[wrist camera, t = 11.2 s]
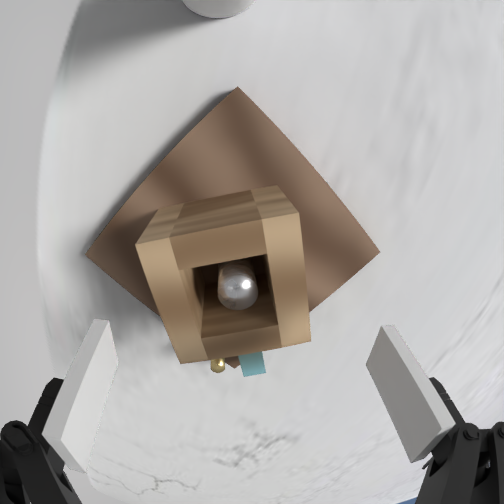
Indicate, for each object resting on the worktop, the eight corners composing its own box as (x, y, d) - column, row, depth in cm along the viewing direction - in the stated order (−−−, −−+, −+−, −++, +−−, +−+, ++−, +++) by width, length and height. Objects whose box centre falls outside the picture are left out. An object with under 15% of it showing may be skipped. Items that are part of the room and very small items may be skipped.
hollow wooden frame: (158, 208, 22) (135, 244, 16) (277, 185, 23) (299, 212, 16) (206, 360, 29) (205, 416, 23) (297, 344, 29) (314, 397, 23)
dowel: (217, 335, 28) (217, 361, 24) (226, 341, 28) (227, 367, 25) (208, 342, 28) (207, 368, 25) (217, 348, 28) (218, 374, 25)
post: (234, 232, 24) (238, 267, 18) (256, 253, 25) (266, 292, 19) (211, 253, 24) (209, 293, 19) (234, 273, 25) (237, 316, 20)
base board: (236, 88, 21) (237, 86, 19) (373, 245, 27) (380, 252, 26) (91, 247, 25) (84, 254, 23) (233, 358, 31) (234, 368, 30)
